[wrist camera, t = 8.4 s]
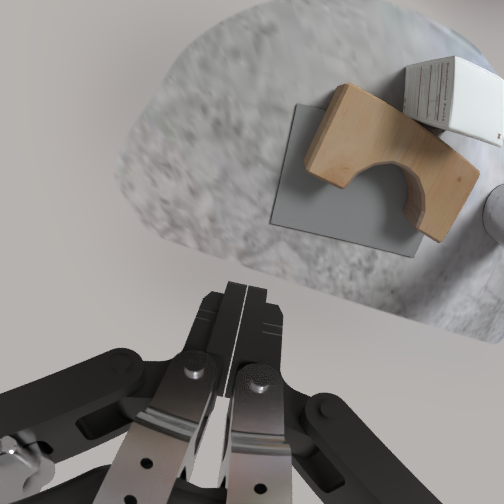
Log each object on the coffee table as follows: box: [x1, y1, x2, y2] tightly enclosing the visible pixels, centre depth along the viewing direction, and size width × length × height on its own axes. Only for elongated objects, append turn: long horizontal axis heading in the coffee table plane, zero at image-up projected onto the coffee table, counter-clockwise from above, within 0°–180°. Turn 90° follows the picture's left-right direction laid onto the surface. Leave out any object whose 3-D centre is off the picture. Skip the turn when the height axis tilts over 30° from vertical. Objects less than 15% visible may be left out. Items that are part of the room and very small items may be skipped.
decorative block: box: [303, 83, 480, 243], centre depth 30 cm, size 11×6×20 cm
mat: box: [271, 103, 424, 258], centre depth 34 cm, size 22×16×1 cm
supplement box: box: [403, 56, 504, 147], centre depth 22 cm, size 7×7×13 cm
